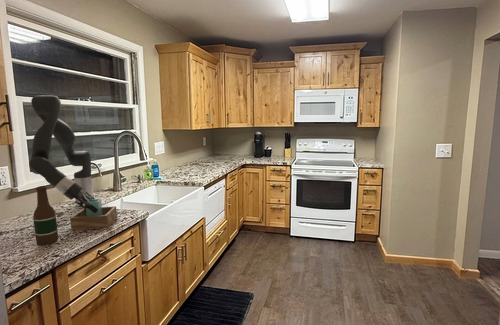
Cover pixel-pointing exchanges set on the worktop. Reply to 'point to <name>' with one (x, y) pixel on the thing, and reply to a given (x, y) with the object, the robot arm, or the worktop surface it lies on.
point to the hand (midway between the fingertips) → (98, 209)
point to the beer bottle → (44, 219)
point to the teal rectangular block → (98, 205)
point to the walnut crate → (93, 219)
